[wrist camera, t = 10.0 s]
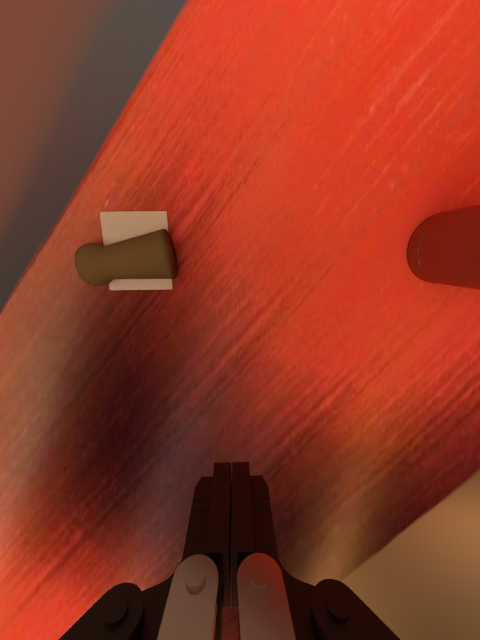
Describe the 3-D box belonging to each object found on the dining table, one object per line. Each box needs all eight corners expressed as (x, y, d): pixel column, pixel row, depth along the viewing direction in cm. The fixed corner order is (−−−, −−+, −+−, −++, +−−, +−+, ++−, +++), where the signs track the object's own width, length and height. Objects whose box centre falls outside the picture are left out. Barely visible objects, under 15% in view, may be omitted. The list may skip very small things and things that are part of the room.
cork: (176, 288, 33) (91, 300, 34) (177, 254, 36) (100, 265, 37) (160, 253, 28) (60, 268, 28) (162, 217, 31) (72, 230, 32)
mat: (167, 211, 34) (166, 211, 34) (172, 288, 36) (172, 289, 36) (101, 212, 34) (99, 211, 33) (111, 289, 36) (109, 290, 36)
